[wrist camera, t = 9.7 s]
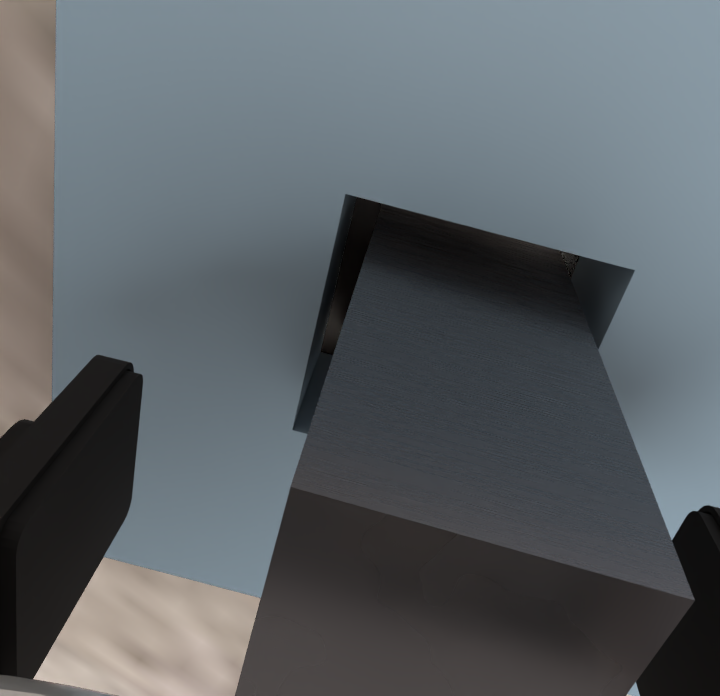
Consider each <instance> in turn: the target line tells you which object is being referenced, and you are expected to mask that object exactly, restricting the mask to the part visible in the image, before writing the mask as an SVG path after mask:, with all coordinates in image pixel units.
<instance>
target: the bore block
mask: <svg viewBox="0 0 720 696" xmlns="http://www.w3.org/2000/svg"><path fill="white" fill-rule="evenodd" d="M357 197H360V198H363V199H367V200H371V201H375V202H378V203H382V204H386V205H390V206H394V207H397V208H401V209H405V210H409V211H413V212H416V213H420V214H424V215H428V216H431V217H435V218H439V219H443V220H447V221H450V222H454V223H458V224H462V225H465V226H469V227H473V228H477V229H481V230H484V231H488V232H492V233H496V234H499V235H503V236H507V237H511V238H515V239H518V240H522V241H526V242H530V243H534V244H537V245H541V246H545V247H549V248H552V249H556V250H560V251H564V252H568V253H571V254H575V255H579V256H580V257H579V260H578V262H577V265H576V267H575V269H574V272H573V274H572V277H571V281H572V283H573V286H574V289H575V291H576V294H577V296H578V299H579V301H580V304H581V307H582V309H583V312H584V314H585V317H586V320H587V322H588V325H589V327H590V330H591V333H592V335H593V338H594V340H595V343H596V346H597V348H598V351H599V353H600V356H601V358H602V361H603V364H604V366H605V369H606V371H607V374H608V377H609V379H610V382H611V384H612V387H613V390H614V392H615V395H616V397H617V400H618V402H619V405H620V408H621V410H622V413H623V415H624V418H625V421H626V423H627V426H628V428H629V431H630V434H631V436H632V439H633V441H634V444H635V446H636V449H637V452H638V454H639V457H640V459H641V462H642V465H643V467H644V470H645V472H646V475H647V478H648V480H649V483H650V485H651V488H652V491H653V493H654V496H655V498H656V501H657V503H658V506H659V509H660V511H661V514H662V516H663V519H664V522H665V524H666V527H667V529H668V532H669V535H670V537H671V540H672V539H673V538H674V536H675V534H676V533H677V531H678V529H679V528H680V526H681V524H682V523H683V521H684V519H685V518H686V516H687V515H688V514H689V513H690V512H692V511H698V510H699V509H700V508H702V507H703V506H707V505H710V506H714V507H718V508H720V0H56V65H55V160H54V255H53V351H52V402H53V401H54V399H55V398H56V397H57V396H58V395H59V394H60V393H61V392H62V391H63V390H64V389H65V387H66V386H67V385H68V384H69V383H70V382H71V381H72V380H73V379H74V378H75V377H76V376H77V374H78V373H79V372H80V371H81V370H82V369H83V368H84V367H85V366H86V365H87V364H88V363H89V361H90V360H91V359H92V358H93V357H94V356H96V355H103V356H107V357H111V358H115V359H119V360H123V361H127V362H131V363H132V364H133V367H134V372H135V373H139V374H142V375H143V389H142V399H141V410H140V420H139V430H138V441H137V451H136V461H135V472H134V482H133V492H132V500H131V505H130V508H129V511H128V514H127V516H126V518H125V520H124V522H123V524H122V526H121V527H120V529H119V531H118V533H117V534H116V536H115V538H114V540H113V541H112V543H111V545H110V546H109V548H108V550H107V552H106V553H105V555H104V557H106V558H110V559H114V560H118V561H121V562H125V563H129V564H133V565H137V566H140V567H144V568H148V569H152V570H156V571H160V572H163V573H167V574H171V575H175V576H179V577H182V578H186V579H190V580H194V581H198V582H201V583H205V584H209V585H213V586H217V587H221V588H224V589H228V590H232V591H236V592H240V593H243V594H247V595H251V596H255V597H259V598H261V596H262V592H263V588H264V585H265V581H266V577H267V573H268V569H269V566H270V562H271V558H272V554H273V551H274V547H275V543H276V539H277V536H278V532H279V528H280V524H281V521H282V517H283V513H284V509H285V505H286V502H287V498H288V494H289V490H290V487H291V484H292V480H293V477H294V474H295V471H296V468H297V465H298V462H299V459H300V456H301V453H302V450H303V446H304V443H305V440H306V437H307V434H308V431H309V428H310V425H311V422H312V419H313V416H314V413H315V409H316V406H317V403H318V400H319V397H320V394H321V391H322V388H323V385H324V382H325V379H326V375H327V372H328V369H329V366H330V363H331V360H332V357H333V355H330V354H326V353H323V352H321V348H322V343H323V339H324V335H325V330H326V326H327V322H328V318H329V313H330V309H331V305H332V301H333V296H334V292H335V288H336V283H337V279H338V275H339V271H340V266H341V262H342V258H343V253H344V249H345V245H346V241H347V236H348V232H349V228H350V224H351V219H352V215H353V211H354V206H355V202H356V198H357ZM627 694H628V695H632V696H640V694H639V691H638V688H637V684H636V682H635V684H634V685H633V686H632V688H631V689H630V691H629V692H628V693H627Z"/></svg>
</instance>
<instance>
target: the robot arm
mask: <svg viewBox="0 0 720 696" xmlns="http://www.w3.org/2000/svg"><path fill="white" fill-rule="evenodd" d="M142 389H143V375H142V374H139V373H135V372H134V367H133V364H132V363H131V362H127V361H123V360H119V359H115V358H111V357H107V356H103V355H96V356H94V357H93V358H92V359H91V360H90V361H89V363H88V364H87V365H86V366H85V367H84V368H83V369H82V370H81V371H80V372H79V373H78V374H77V376H76V377H75V378H74V379H73V380H72V381H71V382H70V383H69V384H68V385H67V386H66V387H65V389H64V390H63V391H62V392H61V393H60V394H59V395H58V396H57V397H56V398H55V399H54V401H53V402H52V403H51V404H50V405H49V406H48V407H47V408H46V409H45V410H44V411H43V412H42V414H41V415H40V416H39V417H38V418H37V419H36V420H35V421H34V422H33V421H29V420H25V419H24V420H20V421H18V422H17V423H15V424H14V425H13V426H12V427H11V428H10V429H9V430H8V431H7V432H6V433H5V434H4V435H3V436H2V437H1V438H0V696H117V695H113V694H108V693H103V692H98V691H94V690H89V689H84V688H79V687H74V686H70V685H64V684H58V683H52V682H46V681H40V680H33V678H34V676H35V675H36V673H37V671H38V670H39V668H40V666H41V664H42V663H43V661H44V659H45V657H46V656H47V654H48V652H49V650H50V649H51V647H52V645H53V644H54V642H55V640H56V638H57V637H58V635H59V633H60V631H61V630H62V628H63V626H64V624H65V623H66V621H67V619H68V618H69V616H70V614H71V612H72V611H73V609H74V607H75V605H76V604H77V602H78V600H79V598H80V597H81V595H82V593H83V592H84V590H85V588H86V586H87V585H88V583H89V581H90V579H91V578H92V576H93V574H94V572H95V571H96V569H97V567H98V566H99V564H100V562H101V560H102V559H103V557H104V555H105V553H106V552H107V550H108V548H109V546H110V545H111V543H112V541H113V540H114V538H115V536H116V534H117V533H118V531H119V529H120V527H121V526H122V524H123V522H124V520H125V518H126V516H127V514H128V511H129V508H130V505H131V500H132V492H133V482H134V472H135V461H136V451H137V441H138V430H139V420H140V410H141V399H142ZM672 542H673V545H674V547H675V550H676V553H677V555H678V558H679V560H680V563H681V566H682V568H683V571H684V573H685V576H686V579H687V581H688V584H689V586H690V589H691V592H692V594H693V597H694V599H695V601H694V602H693V604H692V605H691V607H690V608H689V609H688V611H687V612H686V613H685V615H684V616H683V618H682V619H681V620H680V622H679V623H678V624H677V626H676V627H675V629H674V630H673V631H672V633H671V634H670V635H669V637H668V638H667V640H666V641H665V642H664V644H663V645H662V646H661V648H660V649H659V651H658V652H657V653H656V655H655V656H654V658H653V659H652V660H651V662H650V663H649V664H648V666H647V667H646V669H645V670H644V671H643V673H642V674H641V675H640V677H639V678H638V680H637V681H636V684H637V688H638V691H639V694H640V696H720V508H718V507H714V506H710V505H707V506H703V507H702V508H700V509H699V510H698V511H692V512H690V513H689V514H688V515H687V516H686V518H685V519H684V521H683V523H682V524H681V526H680V528H679V529H678V531H677V533H676V534H675V536H674V538H673V539H672Z"/></svg>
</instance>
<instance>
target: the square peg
mask: <svg viewBox="0 0 720 696" xmlns="http://www.w3.org/2000/svg"><path fill="white" fill-rule="evenodd" d="M694 601H695V599H694V597H693V594H692V592H691V589H690V586H689V584H688V581H687V579H686V576H685V573H684V571H683V568H682V566H681V563H680V560H679V558H678V555H677V553H676V550H675V547H674V545H673V542H672V540H671V537H670V535H669V532H668V529H667V527H666V524H665V522H664V519H663V516H662V514H661V511H660V509H659V506H658V503H657V501H656V498H655V496H654V493H653V491H652V488H651V485H650V483H649V480H648V478H647V475H646V472H645V470H644V467H643V465H642V462H641V459H640V457H639V454H638V452H637V449H636V446H635V444H634V441H633V439H632V436H631V434H630V431H629V428H628V426H627V423H626V421H625V418H624V415H623V413H622V410H621V408H620V405H619V402H618V400H617V397H616V395H615V392H614V390H613V387H612V384H611V382H610V379H609V377H608V374H607V371H606V369H605V366H604V364H603V361H602V358H601V356H600V353H599V351H598V348H597V346H596V343H595V340H594V338H593V335H592V333H591V330H590V327H589V325H588V322H587V320H586V317H585V314H584V312H583V309H582V307H581V304H580V301H579V299H578V296H577V294H576V291H575V289H574V286H573V283H572V281H571V278H570V276H569V273H568V270H567V268H566V265H565V263H564V260H563V257H562V255H561V252H560V250H556V249H552V248H549V247H545V246H541V245H537V244H534V243H530V242H526V241H522V240H518V239H515V238H511V237H507V236H503V235H499V234H496V233H492V232H488V231H484V230H481V229H477V228H473V227H469V226H465V225H462V224H458V223H454V222H450V221H447V220H443V219H439V218H435V217H431V216H428V215H424V214H420V213H416V212H413V211H409V210H405V209H401V208H397V207H394V206H390V205H386V204H382V206H381V209H380V212H379V215H378V218H377V221H376V224H375V227H374V230H373V233H372V236H371V240H370V243H369V246H368V249H367V252H366V255H365V258H364V261H363V264H362V267H361V270H360V274H359V277H358V280H357V283H356V286H355V289H354V292H353V295H352V298H351V301H350V304H349V308H348V311H347V314H346V317H345V320H344V323H343V326H342V329H341V332H340V335H339V338H338V341H337V345H336V348H335V351H334V354H333V357H332V360H331V363H330V366H329V369H328V372H327V375H326V379H325V382H324V385H323V388H322V391H321V394H320V397H319V400H318V403H317V406H316V409H315V413H314V416H313V419H312V422H311V425H310V428H309V431H308V434H307V437H306V440H305V443H304V446H303V450H302V453H301V456H300V459H299V462H298V465H297V468H296V471H295V474H294V477H293V480H292V484H291V487H290V490H289V494H288V498H287V502H286V505H285V509H284V513H283V517H282V521H281V524H280V528H279V532H278V536H277V539H276V543H275V547H274V551H273V554H272V558H271V562H270V566H269V569H268V573H267V577H266V581H265V585H264V588H263V592H262V596H261V600H260V603H259V607H258V611H257V615H256V618H255V622H254V626H253V630H252V634H251V637H250V641H249V645H248V649H247V652H246V656H245V660H244V664H243V667H242V671H241V675H240V679H239V683H238V686H237V690H236V694H235V696H626V695H627V693H628V692H629V691H630V689H631V688H632V686H633V685H634V684H635V682H636V681H637V680H638V678H639V677H640V675H641V674H642V673H643V671H644V670H645V669H646V667H647V666H648V664H649V663H650V662H651V660H652V659H653V658H654V656H655V655H656V653H657V652H658V651H659V649H660V648H661V646H662V645H663V644H664V642H665V641H666V640H667V638H668V637H669V635H670V634H671V633H672V631H673V630H674V629H675V627H676V626H677V624H678V623H679V622H680V620H681V619H682V618H683V616H684V615H685V613H686V612H687V611H688V609H689V608H690V607H691V605H692V604H693V602H694Z"/></svg>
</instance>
